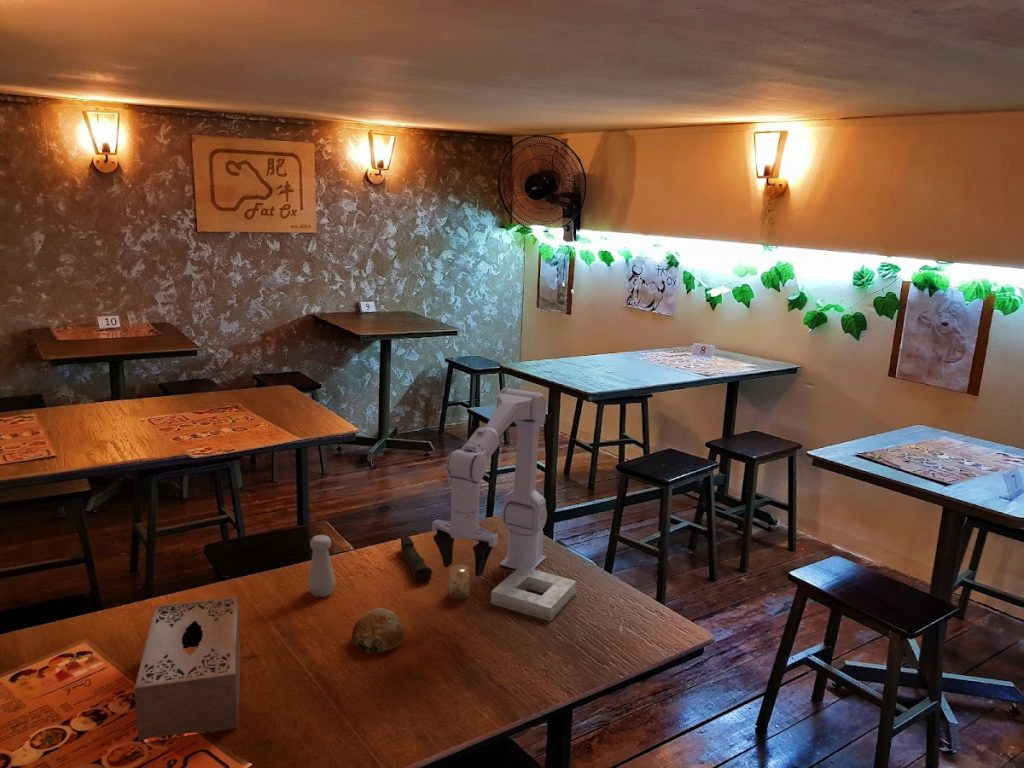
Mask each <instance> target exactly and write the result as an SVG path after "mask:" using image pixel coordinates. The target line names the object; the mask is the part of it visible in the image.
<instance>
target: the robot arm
mask: <svg viewBox="0 0 1024 768" xmlns="http://www.w3.org/2000/svg"><path fill="white" fill-rule="evenodd" d="M546 414H547V398H546V396H545V395H544V393H542V392H540V391H538V392H536V391H529V390H521V389H516V388H515V389H514V388H510V387H506V386H505V387H503V388H502V389H501V390H500V392H499V393H498V395H497V399H496V409H495V411H494V412H493V414H492V415H491V417H490V419H489V420H488V422H487V424H486V425H485V426H480V427H478V428H476V430H475V431H474V432H473V434H472V435H471V436H470V437H469V439H468V440H467V441H466V442H465V444H464V445H463V446H462V447H461V449H456V450H454V451H452V452H451V453H450V454H449V456H448V459H447V462H446V465H445V472H446V475H447V476H448V477H447V478H448V484H449V486H450V487H451V489H450V490H451V491H450V492H451V494H450V496H451V498H450V500H451V501H450V502H451V503H450V520H444V519H435V520H434V521H433V522H431V523H432V525H431V528H432V529H431V531H432V532H435V533H436V534H435V535H433V541H434V543H435V545H436V546H437V549H438V550H439V553H440V555H441V559H442V563H443V564H442V565H443V568H448V567H449V566H451V565H452V564H453V559H454V558H453V555H454V554H453V553H454V544H455V543H454V541H455V539H456V540H458V539H459V540H460V539H467V540H471V541H476V542H478V543H476V544H475V545H474V546H473V547H472V550H473V554H474V562H475V563H474V564H475V567H474V574H475V577H477V578H478V577H480V576H482V575H484V572H485V568H486V564H487V560H488V559H489V556H490V554H491V552H492V550H493V548H494V547H495V546H496V545H497V544H498V542H499V541H498V540H499V539H498V538H499V534H497V533H494V532H492V531H489V530H487V529H485V528H483V527H482V526H480V525H479V521H480V494H481V493H480V492H481V491H480V490H481V481H482V480H483V478H484V477H485V474H486V470H487V468H488V467H489V460H490V458H491V457H492V456H493V454H494V453H495V451H496V450H497V448H498V447H499V446H500V436H501V435H502V434H503V433H504V432H505V431H506V429H508V427H509V426H511V424H512V423H515V425H516V426H517V437H516V439H517V440H516V453H515V455H516V456H515V458H516V459H515V469H514V487H513V488H514V489H513V490H511V491H509V492H508V493H506V494H505V496H504V498H503V504H502V507H501V512H500V518H501V522H502V523H503V524H504V525H505V529H506V530H508V532H507V533H508V534H507V554H506V558H505V559H503V560H502V561H501V562H500V566H503V567H507V568H509V569H510V568H511V569H514V570H516V569H518V568H519V567H520V566H522V567H526V568H530V569H534V570H535V569H536V568H537V567H538V566H539V565H540V564H541V563H543V561H545V559H546V558H547V556H546V555H543V551H544V530H543V529H544V527H545V525H546V523H547V518H548V512H547V505H546V501H547V500H546V498H545V497H544V496H543V495H542V494H540V493H539V491H537V489H536V483H537V481H536V480H537V470H538V469H537V466H538V451H539V439H540V426H542V425H545V423H546V417H547V416H546Z"/></svg>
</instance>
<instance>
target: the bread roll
mask: <svg viewBox="0 0 1024 768" xmlns="http://www.w3.org/2000/svg"><path fill="white" fill-rule="evenodd" d="M404 636H405V627H404V624H403V621H402V620H401V619H400V618H399V616H398V615H397V614H396V613H394V612H393V611H392V610H390V609H387V608H383V607H382V608H381V607H379V606H378V607H375V608H374V609H372V610H368V611H367V612H365V613H364V614H363V615H361V616H360V617H359V618H358V620H357V621H356V622H355V624H354V625H353V628H352V632H351V641H352V643H353V645H354V646H355V648H357V649H359V650H360V651H361V652H364V653H367V654H379V653H385V652H390V651H392V650H394V649H396V648H397V647H398V646H399V647H400V645H401V644H402V642H403V641H404V638H405V637H404Z"/></svg>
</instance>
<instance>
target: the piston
mask: <svg viewBox="0 0 1024 768" xmlns="http://www.w3.org/2000/svg"><path fill="white" fill-rule="evenodd" d="M470 576H471V569H470V567H469V566H468V565H466V564H465V565H463V564H456V565H453V566H451V567H450V568H449V584H448V585H449V590H448V591H449V592H448V593H449V594H448V595H449V597H450V598H451V599H454V600H465V599H467V598H469V596H470V584H471V583H470V582H471V581H470V580H471V579H470Z"/></svg>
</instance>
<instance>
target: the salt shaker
mask: <svg viewBox="0 0 1024 768" xmlns="http://www.w3.org/2000/svg"><path fill="white" fill-rule="evenodd" d="M309 546H310V548H311V550H312V553H311V554H312V556H311V561H310V567H309V574H308V581H307V587H308V589H309V592H310V593H311V595H312V596H314V597H315V598H325V597H327V596H329V595H331V594H332V592H333V590H334V588H335V584H336V579H335V573H334V570H333V565H332V562H331V557H330V554H329V553H330V552H329V549H330V548H331V546H332V541H331V538H330V537H329V536H328V535H326V534H317V535H314V536H313V537H312V538H311V539H310V543H309Z"/></svg>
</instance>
